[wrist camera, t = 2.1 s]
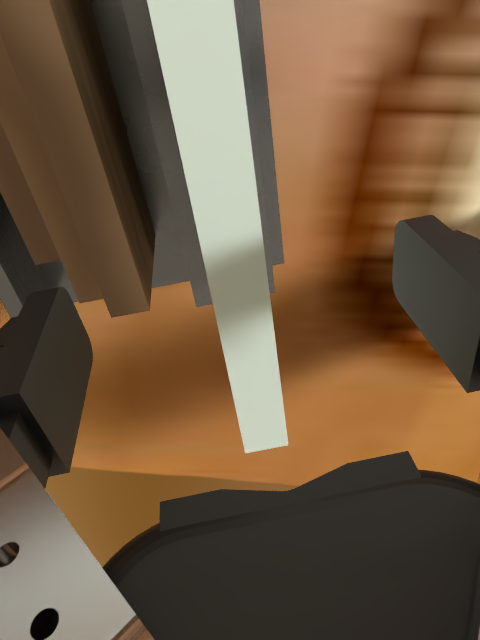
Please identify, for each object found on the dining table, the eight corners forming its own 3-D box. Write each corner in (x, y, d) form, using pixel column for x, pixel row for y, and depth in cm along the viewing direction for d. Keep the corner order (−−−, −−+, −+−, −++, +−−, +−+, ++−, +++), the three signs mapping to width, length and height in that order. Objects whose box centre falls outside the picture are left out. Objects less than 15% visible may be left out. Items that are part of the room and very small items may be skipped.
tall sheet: (185, -70, 21) (208, -203, 7) (235, 233, 31) (288, 445, 16) (152, -64, 21) (106, -185, 7) (212, 238, 31) (245, 453, 16)
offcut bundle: (83, -25, 22) (38, -33, 15) (155, 234, 30) (149, 310, 23) (-39, -3, 22) (-144, -1, 15) (67, 250, 30) (34, 331, 23)
